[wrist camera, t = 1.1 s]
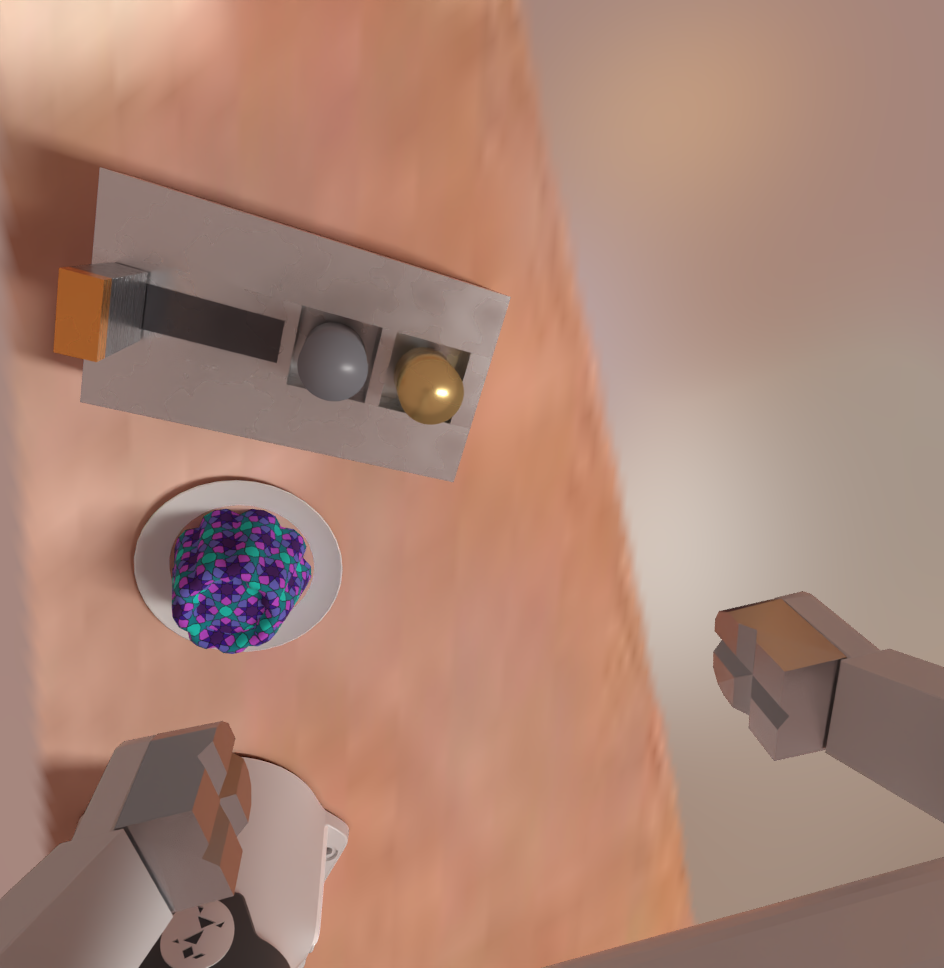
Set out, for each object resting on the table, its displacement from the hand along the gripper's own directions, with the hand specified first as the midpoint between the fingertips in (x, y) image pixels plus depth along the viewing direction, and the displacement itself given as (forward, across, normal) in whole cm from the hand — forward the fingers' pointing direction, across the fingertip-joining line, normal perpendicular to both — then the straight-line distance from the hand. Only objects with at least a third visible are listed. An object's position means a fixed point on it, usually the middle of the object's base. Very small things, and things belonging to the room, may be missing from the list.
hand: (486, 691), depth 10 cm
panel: (+26, +4, -2) cm, 27 cm away
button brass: (+22, -1, 0) cm, 23 cm away
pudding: (+26, +12, +11) cm, 31 cm away
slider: (+21, +11, -6) cm, 25 cm away
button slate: (+22, +3, -2) cm, 23 cm away
